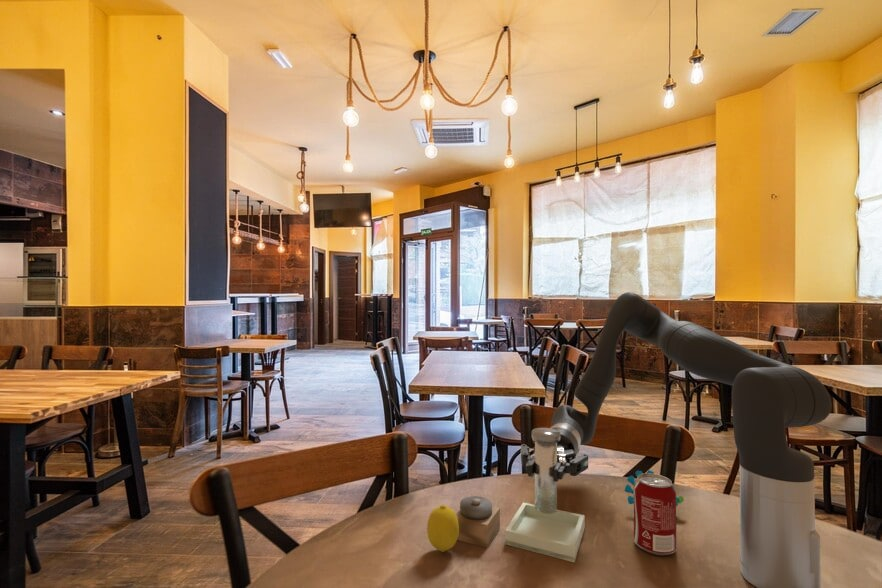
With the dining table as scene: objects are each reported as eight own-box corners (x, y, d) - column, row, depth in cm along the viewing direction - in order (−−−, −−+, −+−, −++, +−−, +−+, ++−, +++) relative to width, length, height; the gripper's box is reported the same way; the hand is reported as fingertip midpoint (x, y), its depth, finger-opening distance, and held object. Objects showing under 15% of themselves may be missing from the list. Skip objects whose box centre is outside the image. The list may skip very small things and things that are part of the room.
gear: (625, 510, 86) (626, 463, 93) (620, 520, 90) (621, 474, 97) (686, 526, 83) (683, 476, 90) (678, 536, 87) (675, 488, 94)
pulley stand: (499, 529, 82) (499, 496, 82) (487, 547, 76) (487, 512, 76) (465, 520, 85) (466, 489, 85) (451, 538, 79) (451, 504, 79)
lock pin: (562, 505, 81) (562, 430, 81) (557, 518, 77) (557, 438, 77) (535, 499, 83) (535, 426, 84) (528, 511, 79) (528, 434, 79)
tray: (584, 528, 82) (584, 515, 82) (574, 562, 72) (574, 547, 72) (523, 514, 88) (523, 502, 88) (505, 544, 77) (505, 530, 77)
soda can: (681, 561, 72) (681, 489, 72) (638, 556, 74) (638, 485, 74) (669, 539, 79) (668, 473, 79) (629, 535, 80) (629, 470, 80)
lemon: (437, 539, 78) (437, 495, 78) (464, 548, 75) (464, 502, 76) (420, 554, 74) (421, 507, 74) (448, 565, 71) (449, 516, 71)
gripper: (528, 422, 96) (504, 446, 81) (595, 431, 90) (583, 459, 74) (528, 456, 96) (504, 486, 81) (595, 467, 90) (583, 503, 74)
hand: (542, 473), depth 78 cm, fingers closed on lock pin, 4 cm apart
